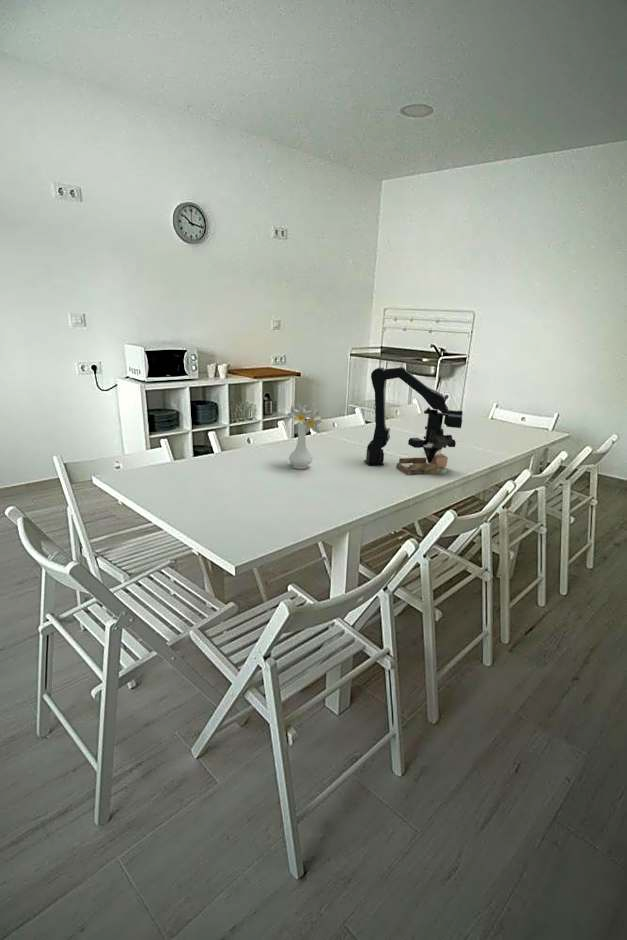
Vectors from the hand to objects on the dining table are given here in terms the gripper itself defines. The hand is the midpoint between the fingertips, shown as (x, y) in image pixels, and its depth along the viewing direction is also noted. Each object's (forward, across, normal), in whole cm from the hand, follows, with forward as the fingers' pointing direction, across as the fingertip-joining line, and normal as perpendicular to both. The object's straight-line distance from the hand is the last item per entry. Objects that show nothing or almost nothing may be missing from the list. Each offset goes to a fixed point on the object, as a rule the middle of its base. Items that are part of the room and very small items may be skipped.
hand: (429, 462), depth 198 cm
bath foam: (+3, +15, +22) cm, 27 cm away
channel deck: (+3, -3, 0) cm, 4 cm away
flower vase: (+4, -51, +11) cm, 52 cm away
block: (+1, +4, 0) cm, 4 cm away
